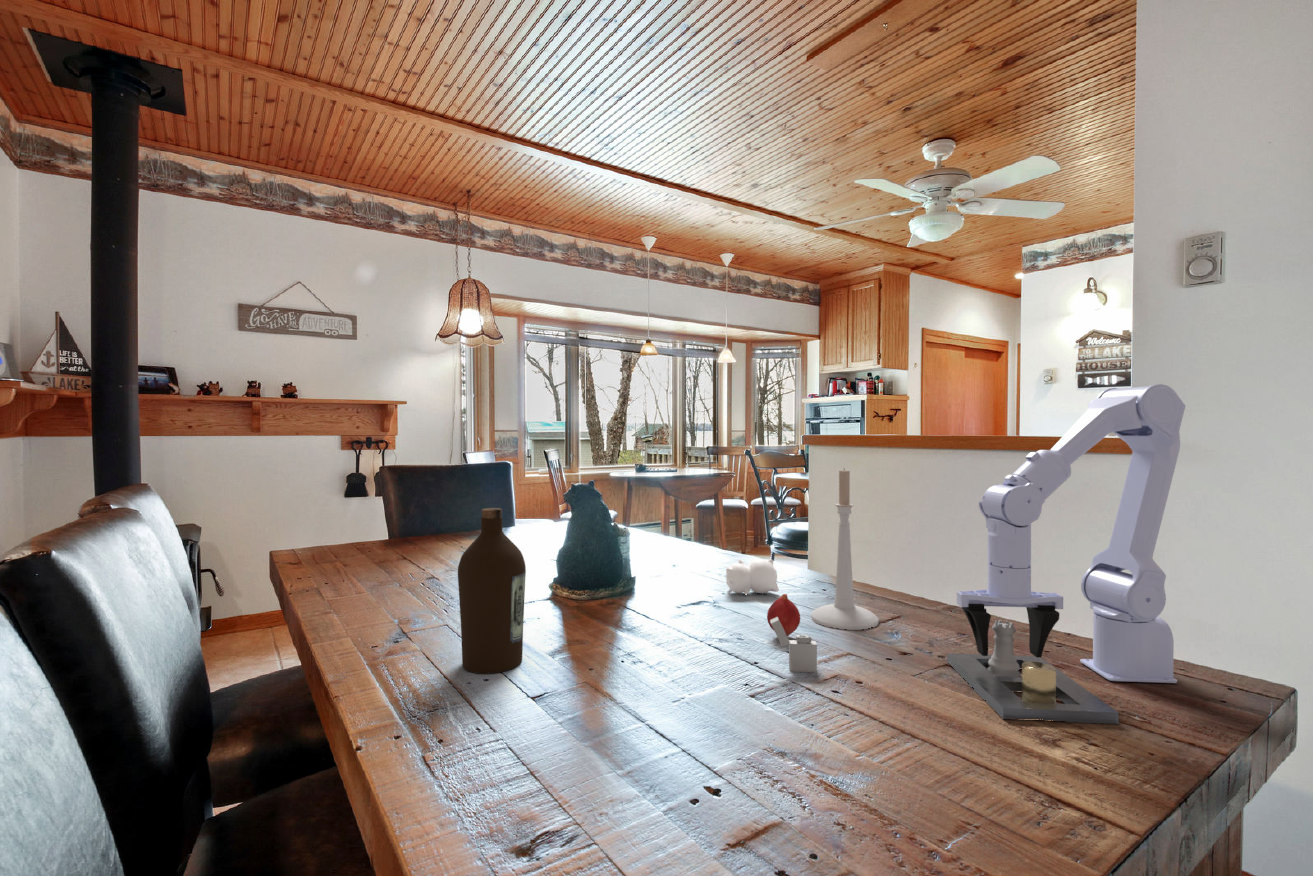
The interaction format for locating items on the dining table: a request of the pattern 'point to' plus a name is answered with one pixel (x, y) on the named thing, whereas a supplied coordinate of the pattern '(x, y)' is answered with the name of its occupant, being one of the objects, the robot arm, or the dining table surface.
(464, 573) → the olive oil
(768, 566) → the cat figurine
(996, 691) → the bolt plate
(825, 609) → the candlestick
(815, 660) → the lighter
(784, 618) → the onion
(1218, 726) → the dining table surface
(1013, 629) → the rook chess piece
